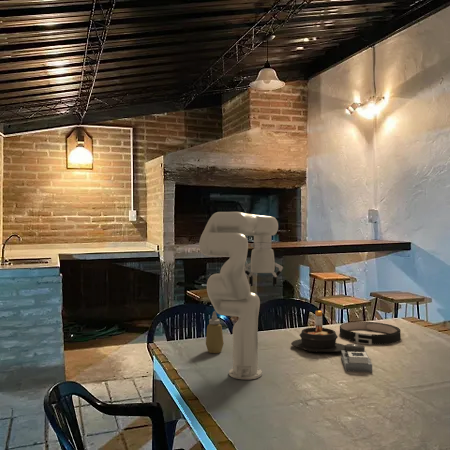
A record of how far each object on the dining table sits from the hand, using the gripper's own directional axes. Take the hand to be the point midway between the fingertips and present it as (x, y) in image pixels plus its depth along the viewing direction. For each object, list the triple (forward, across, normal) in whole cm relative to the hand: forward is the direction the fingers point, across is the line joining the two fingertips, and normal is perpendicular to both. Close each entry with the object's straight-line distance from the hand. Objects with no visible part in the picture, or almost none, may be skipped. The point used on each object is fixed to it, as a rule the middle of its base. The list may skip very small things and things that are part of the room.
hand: (262, 285), depth 199 cm
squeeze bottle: (+31, -22, +3) cm, 38 cm away
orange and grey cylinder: (+22, +24, +13) cm, 35 cm away
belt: (+31, +50, +39) cm, 70 cm away
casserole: (+31, +24, +13) cm, 41 cm away
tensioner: (+30, +38, -7) cm, 49 cm away
